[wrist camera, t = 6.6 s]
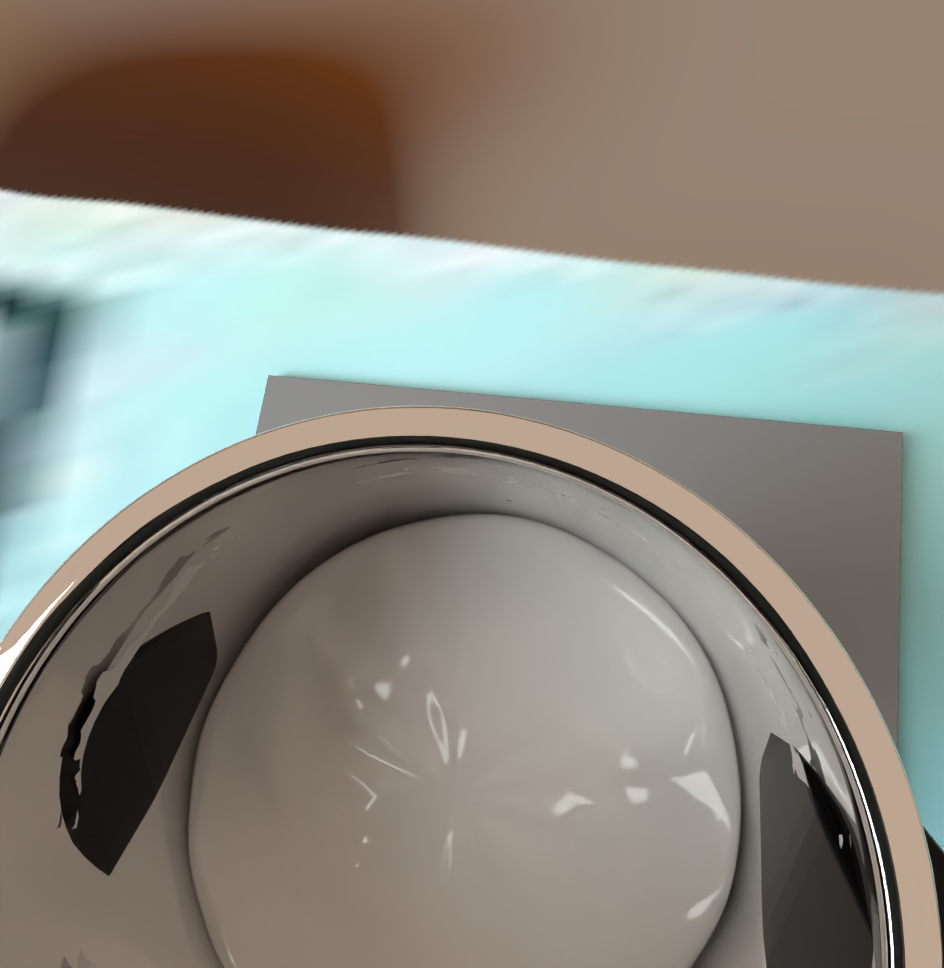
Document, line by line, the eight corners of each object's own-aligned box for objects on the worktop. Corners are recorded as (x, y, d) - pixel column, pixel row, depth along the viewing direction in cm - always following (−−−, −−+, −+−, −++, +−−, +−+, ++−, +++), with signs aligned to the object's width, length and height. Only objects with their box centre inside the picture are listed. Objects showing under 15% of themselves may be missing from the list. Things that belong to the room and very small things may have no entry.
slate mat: (877, 1443, 16) (886, 1467, 15) (95, 1219, 19) (83, 1233, 18) (896, 437, 21) (903, 431, 20) (273, 380, 24) (267, 374, 23)
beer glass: (694, 722, 19) (1251, 936, 4) (495, 932, 18) (360, 2042, 4) (497, 526, 20) (418, 195, 6) (305, 714, 20) (-334, 876, 5)
